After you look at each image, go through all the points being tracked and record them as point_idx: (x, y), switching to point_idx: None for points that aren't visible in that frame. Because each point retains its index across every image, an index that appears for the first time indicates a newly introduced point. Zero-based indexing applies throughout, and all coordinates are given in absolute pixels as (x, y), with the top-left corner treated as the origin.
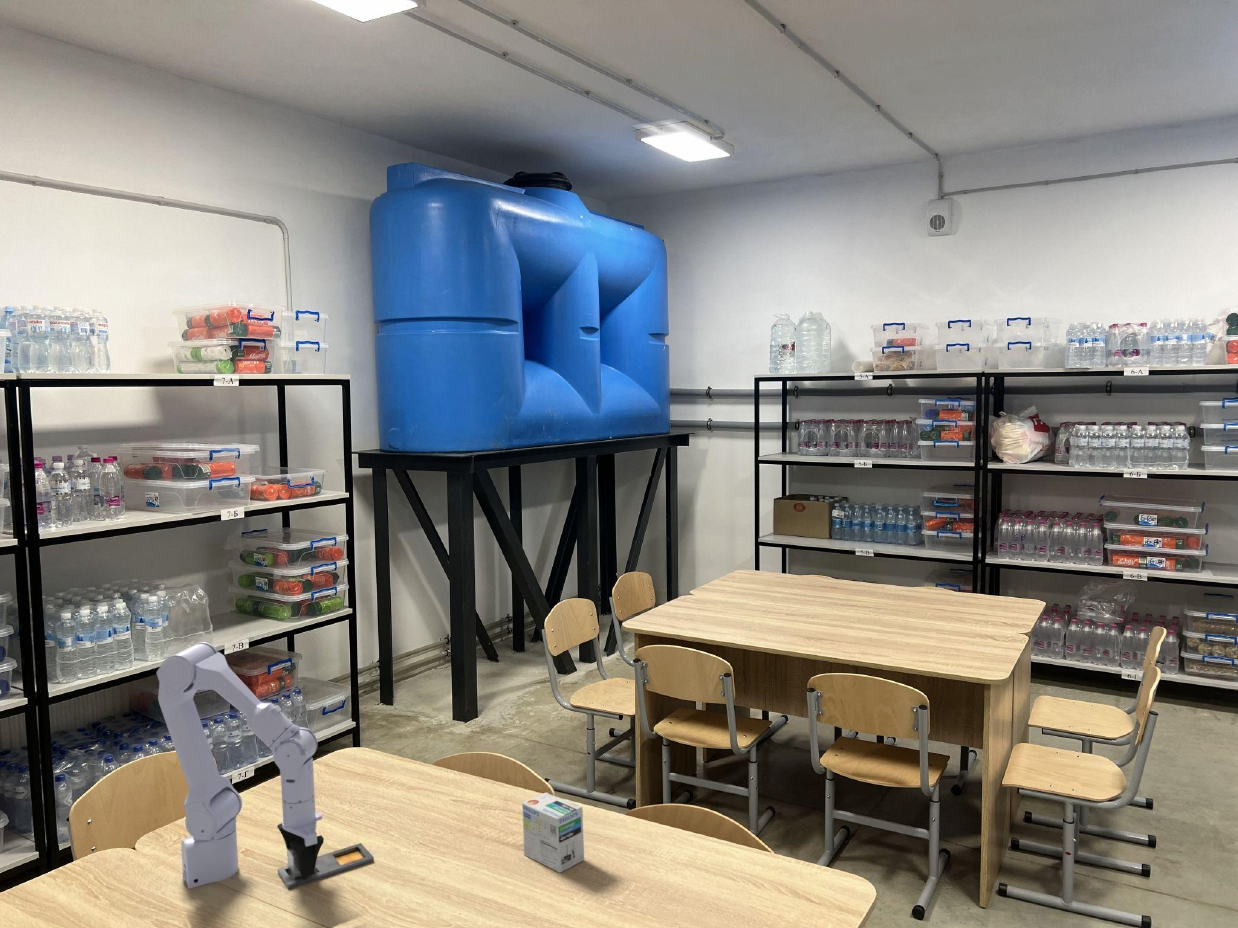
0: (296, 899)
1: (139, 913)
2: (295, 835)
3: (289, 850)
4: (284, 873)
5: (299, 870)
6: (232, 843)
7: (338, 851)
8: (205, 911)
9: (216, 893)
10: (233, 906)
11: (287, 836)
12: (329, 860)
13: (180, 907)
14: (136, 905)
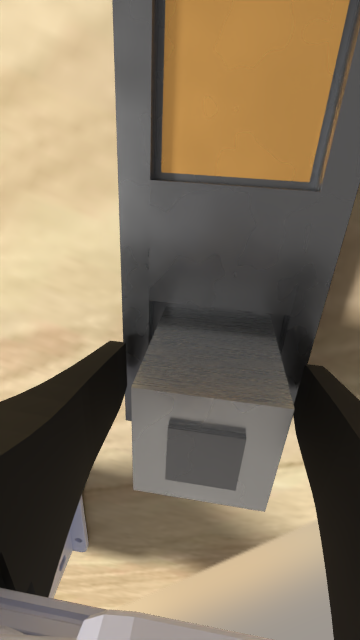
0: None
1: (103, 600)
2: (64, 473)
3: (171, 491)
4: None
5: (297, 438)
6: None
7: (137, 129)
8: (188, 552)
9: (115, 514)
10: (215, 517)
11: (67, 519)
12: (209, 224)
13: (130, 566)
14: (67, 593)
